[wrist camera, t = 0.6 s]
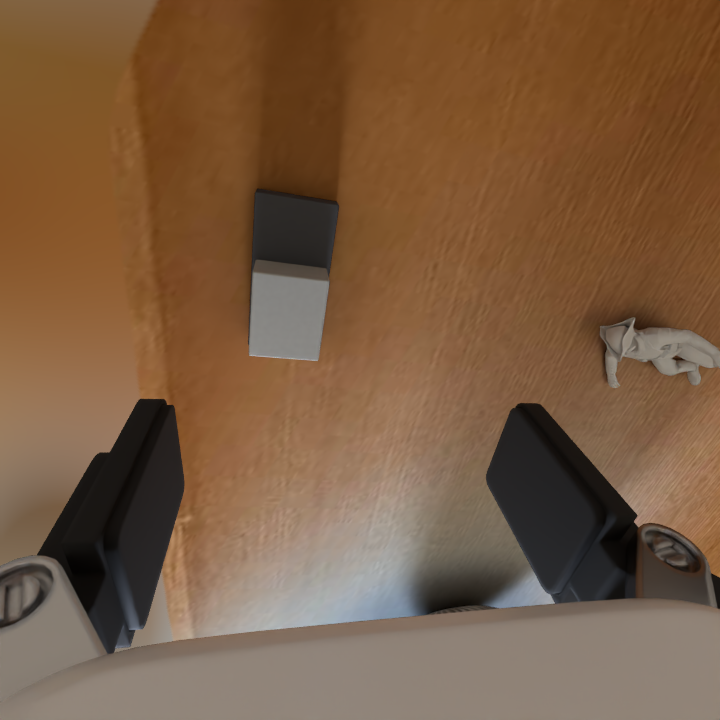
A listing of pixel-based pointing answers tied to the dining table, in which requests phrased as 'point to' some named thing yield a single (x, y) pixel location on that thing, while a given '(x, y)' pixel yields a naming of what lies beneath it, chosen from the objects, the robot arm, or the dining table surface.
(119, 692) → the robot arm
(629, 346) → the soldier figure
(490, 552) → the dining table surface
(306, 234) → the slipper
